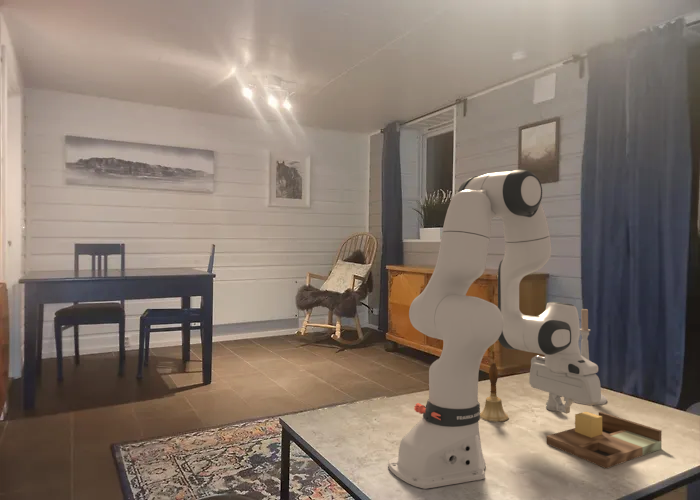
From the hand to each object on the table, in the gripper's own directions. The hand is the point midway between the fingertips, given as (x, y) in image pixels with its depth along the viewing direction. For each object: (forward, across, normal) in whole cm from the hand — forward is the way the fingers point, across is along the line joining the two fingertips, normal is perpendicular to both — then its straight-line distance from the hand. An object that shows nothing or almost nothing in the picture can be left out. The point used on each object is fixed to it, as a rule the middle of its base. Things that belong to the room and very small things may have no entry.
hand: (563, 411), depth 132 cm
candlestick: (+6, -15, +30) cm, 34 cm away
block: (+3, +8, -1) cm, 9 cm away
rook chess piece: (+6, -13, +12) cm, 19 cm away
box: (+5, +12, -1) cm, 13 cm away
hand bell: (+5, -17, -9) cm, 20 cm away
